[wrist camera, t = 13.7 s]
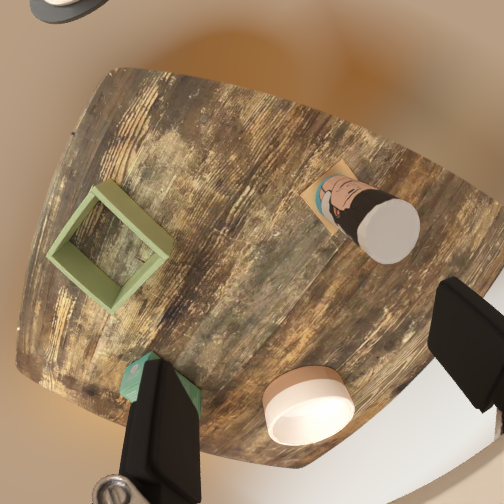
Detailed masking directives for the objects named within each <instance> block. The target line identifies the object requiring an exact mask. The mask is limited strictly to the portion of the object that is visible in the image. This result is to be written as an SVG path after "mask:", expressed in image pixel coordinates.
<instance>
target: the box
mask: <svg viewBox="0 0 504 504" xmlns="http://www.w3.org/2000/svg"><path fill="white" fill-rule="evenodd" d="M159 358H160V357H159V356H158V355H156V354H155V353H154V352H153V351H151V352H149V353H148V354H146V355H144V356H143V357H141V358H140V359H138V360H137V361H135V362H133V363H132V364H130V365H129V366H127V368H126V370H125V372H124V375H123V377H122V381H121V386H120V390H119V392H120V394H121V395H122V396H123V397H125V398H126V399H128V400H129V401H130V402H132V403H133V402H134V401H137V395H138V390H139V385H140V381H141V376H142V371H143V367H144V363H145V361H147V360H153V359H159ZM174 370H175V369H174ZM175 372H176V374H177V375H178V377H179V379H180V381H181V383H182V384H183V386H184V388H185V390H186V392H187V393H188V395H189V397H190V399H191V400H192V402H193V404H194V405H195V407H196V409H197V411H198V415H199V419H200V412H201V390H200V389H199V388H197V387H196V386H195V385H194V384H192V383H191V382H190V381H189V380H187V379H186V378H185V377H184V376H182V375H181V374H180V373H178V372H177V371H176V370H175Z"/></svg>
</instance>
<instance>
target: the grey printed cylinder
mask: <svg viewBox="0 0 504 504" xmlns="http://www.w3.org/2000/svg"><path fill="white" fill-rule="evenodd" d="M315 201H316V205H317V208H318V210H319V212H320V214H322V215H323V216H324V217H325V218H326V219H328V220H329V221H330V222H331V223H332V224H334V225H335V226H336V227H337V228H338V229H340V230H341V231H342V232H343V233H344V234H345V235H347V236H348V237H349V238H350V239H351V240H352V241H354V242H355V243H356V244H357V245H358V246H359V247H360V248H362V249H363V250H364V251H365V252H366V253H367V254H368V255H370V256H371V257H372V258H373V259H374V260H375V261H376V262H379V263H382V264H393V263H395V262H398V261H400V260H402V259H403V258H404V257H406V256H407V255H408V254H409V253H410V251H411V250H412V249H413V248H414V246H415V243H416V241H417V239H418V235H419V231H420V221H419V217H418V214H417V211H416V210H415V209H414V207H413V206H412V205H411V204H409V203H408V202H406V201H404V200H402V199H399V198H397V197H395V196H393V195H390V194H388V193H386V192H384V191H381V190H379V189H377V188H374V187H372V186H369V185H367V184H365V183H362V182H360V181H357V180H355V179H352V178H350V177H347V176H345V175H337V174H336V175H333V176H329V177H328V178H326V179H325V180H323V182H322V183H321V184H320V185H319V187H318V190H317V192H316V200H315Z"/></svg>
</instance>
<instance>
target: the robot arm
mask: <svg viewBox="0 0 504 504" xmlns="http://www.w3.org/2000/svg"><path fill="white" fill-rule="evenodd" d="M45 1H46V2H47V3H49V4H51V5H53V6H65V5H69V4H72V3H75V2H77V1H79V0H45ZM427 344H428V348H429V350H430V351H431V353H432V354H433V355H434V356H435V357H436V359H437V360H438V361H439V362H440V363H441V365H442V366H443V367H444V369H445V370H446V371H447V372H448V374H449V375H450V376H451V377H452V379H453V380H454V381H455V382H456V384H457V385H458V386H459V388H460V389H461V390H462V391H463V393H464V394H465V395H466V397H467V398H468V399H469V401H470V402H471V403H472V405H473V406H474V407H475V408H476V409H480V411H481V412H482V413H484V412H485V411H487V410H488V409H490V408H491V407H492V406H493V405H494V404H495V406H496V407H497V415H496V428H495V439H494V442H492V443H491V444H490V445H489V446H487V447H486V448H484V449H483V450H482V451H480V452H479V453H477V454H476V455H475V456H473V457H471V458H470V459H469V460H467V461H466V462H464V463H462V464H461V465H459V466H458V467H456V468H455V469H453V470H451V471H450V472H448V473H447V474H445V475H443V476H441V477H439V478H438V479H436V480H434V481H432V482H431V483H429V484H427V485H425V486H423V487H421V488H419V489H417V490H415V491H413V492H412V493H409V494H408V495H405V496H403V497H401V498H399V499H396V500H394V501H392V502H390V503H387V504H504V316H503V315H502V314H501V313H500V312H499V311H497V310H496V309H495V308H494V307H493V306H492V305H490V304H489V303H488V302H487V301H486V300H484V299H483V298H482V297H481V296H479V295H478V294H477V293H476V292H474V291H473V290H472V289H471V288H469V287H468V286H467V285H466V284H464V283H463V282H462V281H460V280H459V279H458V278H456V277H450V278H448V279H445V280H443V281H441V282H440V283H439V286H438V287H437V290H436V296H435V303H434V309H433V315H432V321H431V326H430V331H429V336H428V341H427ZM200 479H201V478H200V443H199V415H198V411H197V409H196V407H195V405H194V404H193V402H192V400H191V399H190V397H189V395H188V393H187V392H186V390H185V388H184V386H183V384H182V383H181V381H180V379H179V377H178V375H177V374H176V372H175V370H174V368H173V366H172V364H171V363H170V362H165V360H164V359H163V358H159V359H153V360H147V361H145V363H144V367H143V371H142V376H141V381H140V385H139V390H138V395H137V401H134V402H133V403H132V404H131V407H130V411H129V416H128V421H127V426H126V432H125V439H124V444H123V450H122V456H121V462H120V469H119V475H116V474H112V475H107V476H105V477H103V478H101V479H100V480H99V481H98V482H97V483H96V485H95V486H94V488H93V492H92V501H93V503H92V504H197V503H200V502H201V480H200Z"/></svg>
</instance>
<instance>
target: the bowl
mask: <svg viewBox="0 0 504 504" xmlns="http://www.w3.org/2000/svg"><path fill="white" fill-rule="evenodd" d="M262 401H263V407H264V412H265V418H266V423H267V428H268V433H269V435H270V437H271V438H272V439H273V440H274V441H275V442H278V443H280V444H284V445H292V446H295V445H306V444H311V443H315V442H318V441H321V440H324V439H326V438H328V437H330V436H332V435H334V434H335V433H337V432H338V431H340V430H341V429H343V428H344V427H345V426H346V425H347V424H348V423H349V421H350V420H351V419H352V417H353V415H354V411H355V408H354V404H353V401H352V399H351V397H350V395H349V393H348V391H347V389H346V387H345V385H344V383H343V381H342V379H341V377H340V375H339V374H338V373H337V372H336V371H335V370H333V369H331V368H329V367H325V366H316V365H315V366H305V367H301V368H297V369H294V370H291V371H289V372H287V373H285V374H283V375H281V376H279V377H278V378H276V379H275V380H274V381H273V382H272V383H270V384H269V386H268V387H267V388H266V390H265V392H264V394H263V399H262Z"/></svg>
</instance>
